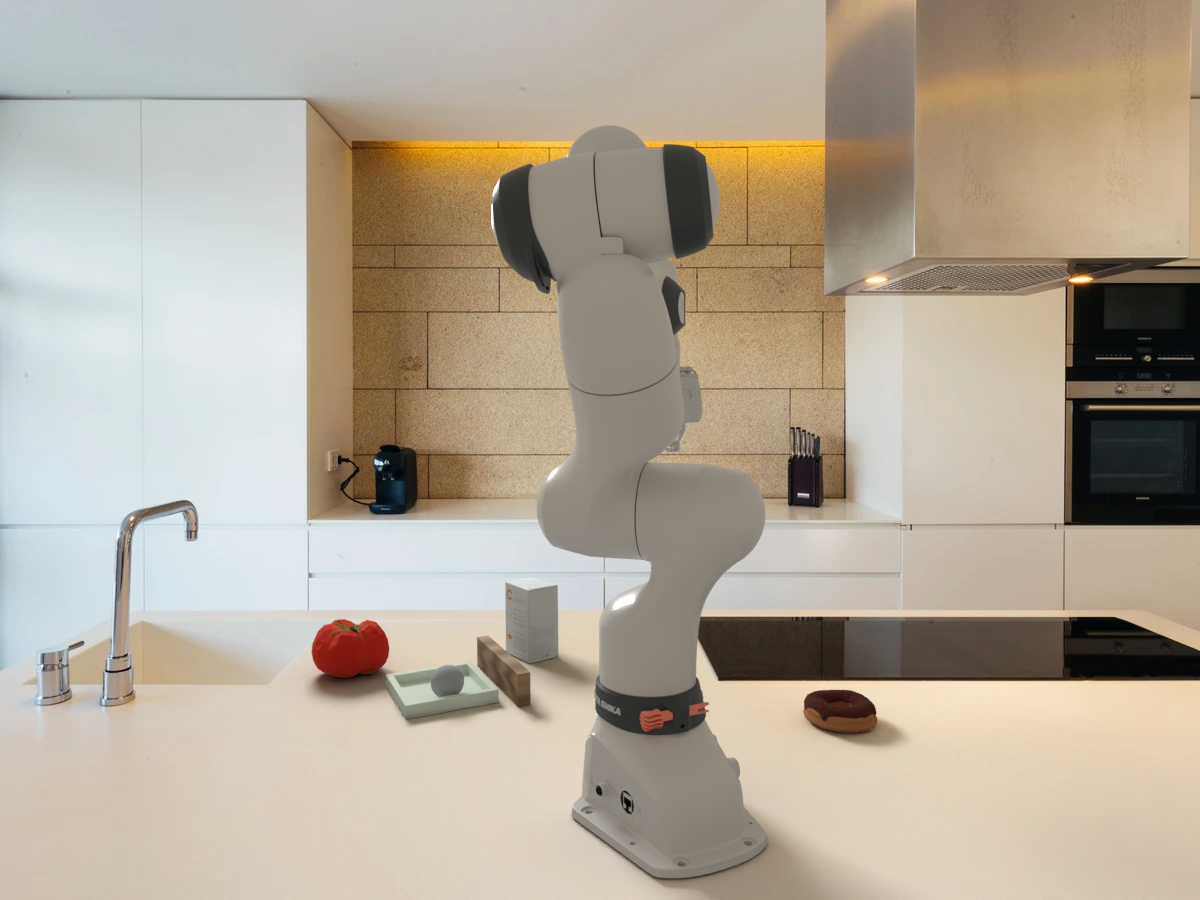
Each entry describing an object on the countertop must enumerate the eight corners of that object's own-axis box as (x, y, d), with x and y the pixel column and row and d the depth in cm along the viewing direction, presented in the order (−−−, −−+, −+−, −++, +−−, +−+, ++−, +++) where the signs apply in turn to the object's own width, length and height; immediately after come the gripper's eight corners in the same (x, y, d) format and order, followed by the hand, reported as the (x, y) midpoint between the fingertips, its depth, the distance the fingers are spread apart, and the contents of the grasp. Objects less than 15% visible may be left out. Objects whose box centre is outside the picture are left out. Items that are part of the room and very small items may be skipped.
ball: (463, 685, 125) (475, 683, 121) (438, 706, 122) (449, 705, 118) (445, 659, 125) (456, 656, 121) (419, 679, 122) (430, 678, 118)
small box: (559, 657, 142) (558, 584, 141) (528, 664, 138) (528, 590, 137) (534, 645, 148) (534, 576, 147) (504, 652, 144) (504, 581, 143)
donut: (876, 714, 117) (877, 687, 117) (877, 742, 108) (878, 713, 107) (805, 705, 120) (806, 680, 120) (800, 732, 111) (800, 704, 111)
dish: (498, 702, 121) (498, 689, 121) (405, 719, 115) (405, 705, 115) (471, 673, 134) (471, 661, 134) (386, 686, 128) (385, 674, 127)
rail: (530, 704, 120) (530, 672, 120) (518, 707, 119) (517, 674, 119) (488, 663, 138) (488, 635, 138) (477, 665, 137) (476, 637, 137)
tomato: (294, 681, 130) (292, 630, 129) (342, 657, 142) (341, 610, 141) (360, 691, 126) (358, 638, 125) (404, 665, 138) (403, 616, 137)
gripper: (683, 366, 135) (683, 448, 136) (589, 365, 122) (589, 455, 123) (711, 366, 130) (711, 450, 131) (616, 364, 117) (616, 458, 118)
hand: (651, 453), depth 127 cm, fingers open, 8 cm apart
